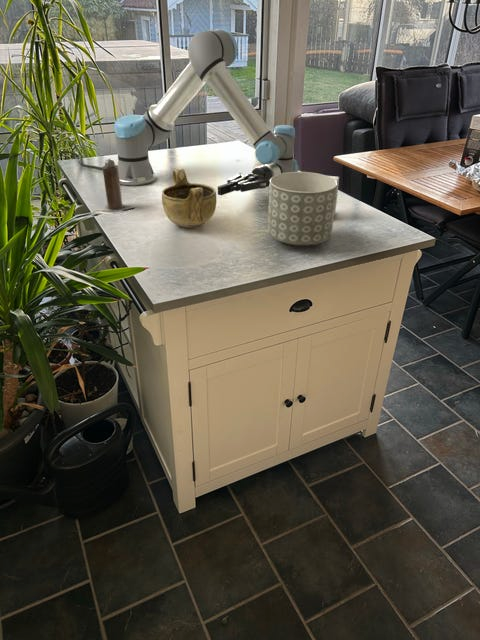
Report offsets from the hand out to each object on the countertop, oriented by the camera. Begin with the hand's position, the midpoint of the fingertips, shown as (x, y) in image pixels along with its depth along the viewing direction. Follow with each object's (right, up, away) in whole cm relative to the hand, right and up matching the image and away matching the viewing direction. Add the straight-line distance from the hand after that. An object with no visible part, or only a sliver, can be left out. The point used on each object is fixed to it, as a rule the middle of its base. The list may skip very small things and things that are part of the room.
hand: (219, 190), depth 166 cm
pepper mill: (-36, -4, +8) cm, 37 cm away
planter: (+24, -19, -14) cm, 34 cm away
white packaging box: (+35, -8, +4) cm, 36 cm away
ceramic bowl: (-9, -12, -4) cm, 15 cm away
